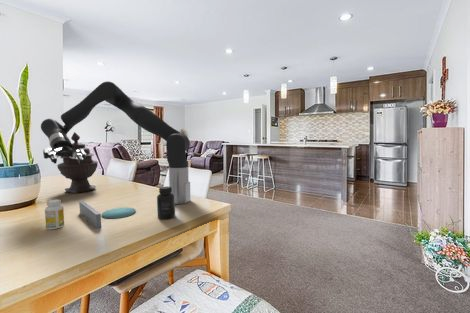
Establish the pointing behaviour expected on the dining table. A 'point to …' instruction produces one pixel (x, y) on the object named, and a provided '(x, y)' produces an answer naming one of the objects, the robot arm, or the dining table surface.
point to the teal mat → (118, 212)
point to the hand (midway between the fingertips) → (68, 161)
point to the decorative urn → (78, 169)
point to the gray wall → (90, 214)
